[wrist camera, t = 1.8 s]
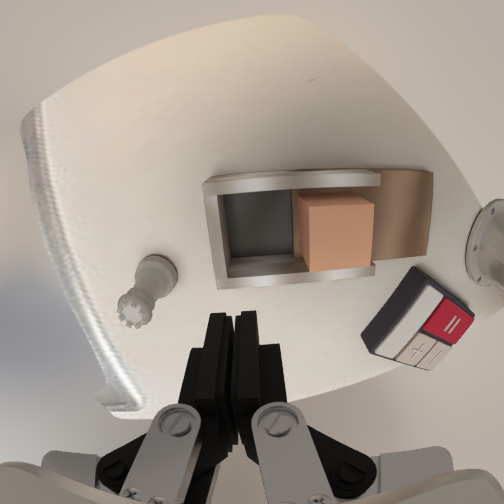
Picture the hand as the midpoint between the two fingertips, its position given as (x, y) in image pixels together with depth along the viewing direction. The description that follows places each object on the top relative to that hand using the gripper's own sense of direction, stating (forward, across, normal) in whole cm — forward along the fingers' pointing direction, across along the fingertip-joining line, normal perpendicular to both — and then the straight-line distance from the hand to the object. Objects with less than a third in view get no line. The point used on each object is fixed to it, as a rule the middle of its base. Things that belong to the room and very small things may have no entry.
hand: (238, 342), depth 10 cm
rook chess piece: (+17, +10, +5) cm, 20 cm away
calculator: (+17, -22, +15) cm, 32 cm away
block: (+15, -7, 0) cm, 17 cm away
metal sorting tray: (+17, -8, 0) cm, 19 cm away
